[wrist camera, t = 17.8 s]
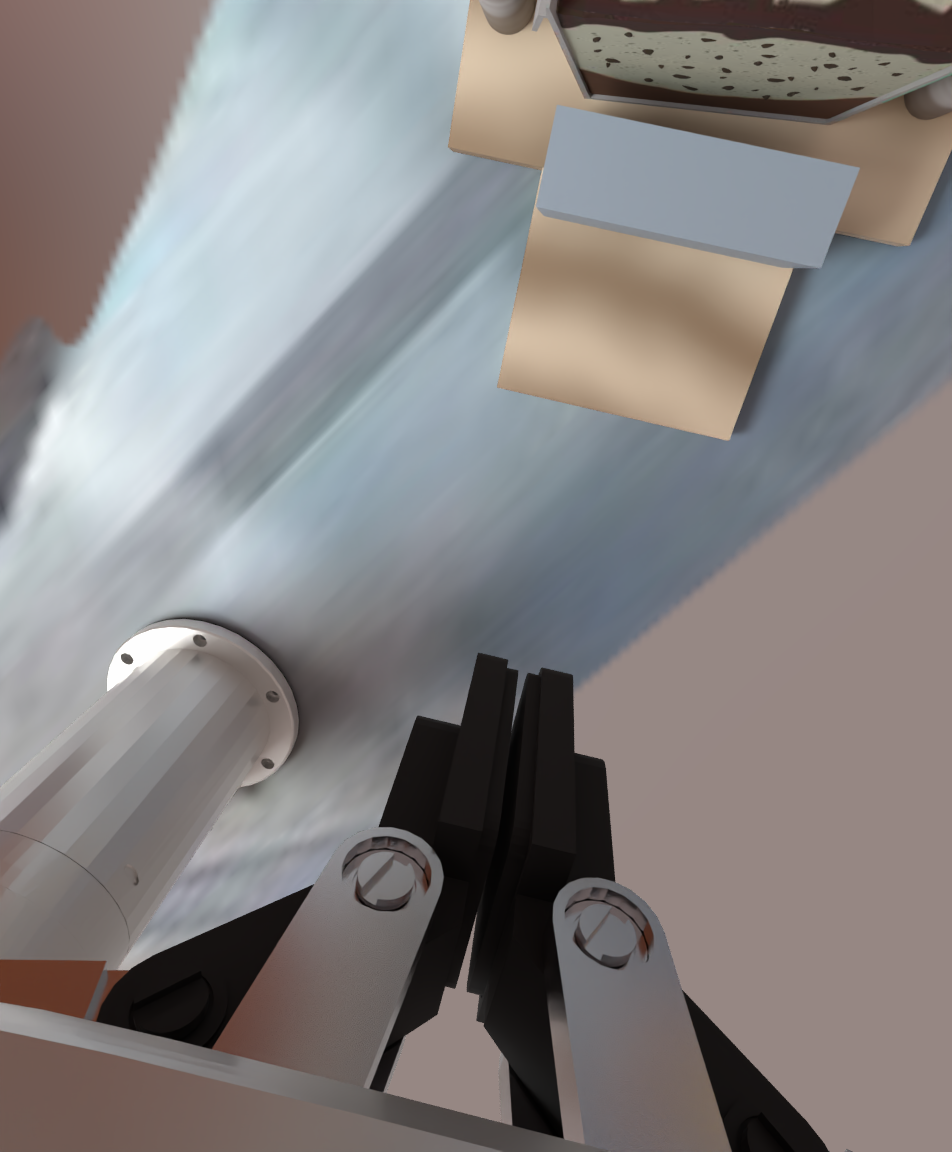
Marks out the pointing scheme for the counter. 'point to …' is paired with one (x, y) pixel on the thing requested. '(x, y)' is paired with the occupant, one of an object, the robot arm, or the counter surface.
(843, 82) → the food container
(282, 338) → the counter surface
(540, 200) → the block
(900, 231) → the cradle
